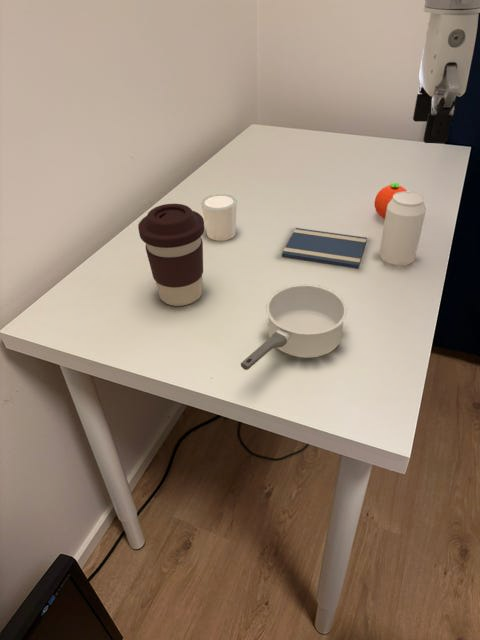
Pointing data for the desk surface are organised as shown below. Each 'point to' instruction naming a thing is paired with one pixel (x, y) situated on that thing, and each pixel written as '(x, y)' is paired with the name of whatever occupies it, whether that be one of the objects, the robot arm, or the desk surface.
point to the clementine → (386, 198)
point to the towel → (325, 248)
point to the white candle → (220, 216)
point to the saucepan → (302, 322)
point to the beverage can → (402, 228)
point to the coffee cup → (175, 251)
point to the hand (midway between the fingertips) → (428, 131)
